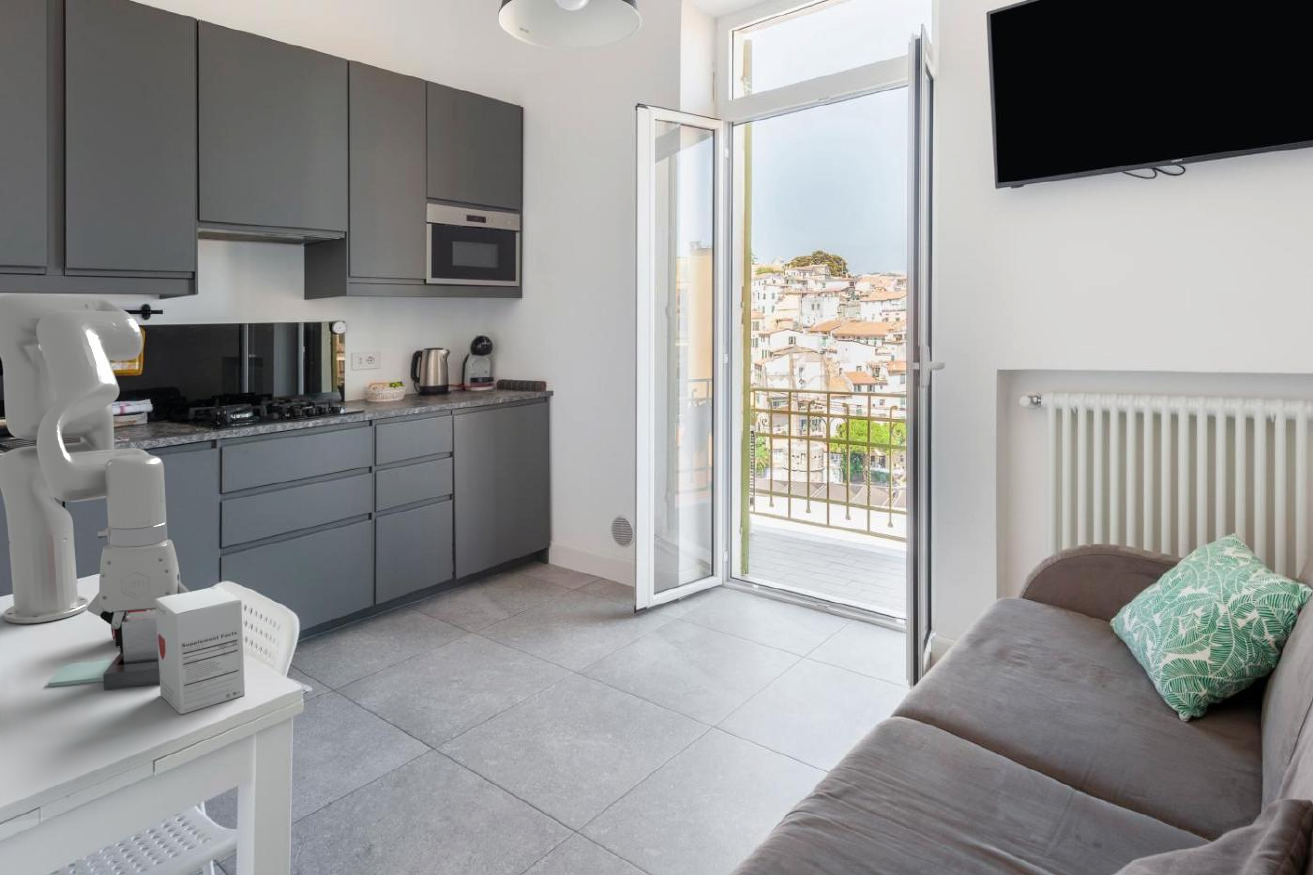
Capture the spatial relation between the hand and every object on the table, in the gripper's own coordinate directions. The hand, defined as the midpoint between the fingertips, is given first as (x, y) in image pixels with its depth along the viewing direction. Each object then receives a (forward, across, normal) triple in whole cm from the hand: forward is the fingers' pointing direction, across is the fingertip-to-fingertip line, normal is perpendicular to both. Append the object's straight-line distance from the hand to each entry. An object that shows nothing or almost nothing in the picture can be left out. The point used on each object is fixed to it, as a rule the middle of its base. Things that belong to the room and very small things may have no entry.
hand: (145, 647), depth 123 cm
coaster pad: (+4, -8, +1) cm, 9 cm away
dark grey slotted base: (+4, 0, +2) cm, 4 cm away
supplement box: (+4, +10, -12) cm, 16 cm away
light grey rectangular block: (+4, 0, 0) cm, 4 cm away
